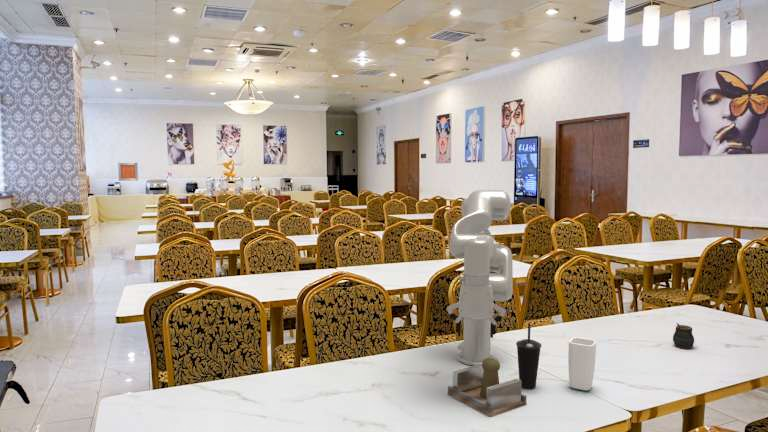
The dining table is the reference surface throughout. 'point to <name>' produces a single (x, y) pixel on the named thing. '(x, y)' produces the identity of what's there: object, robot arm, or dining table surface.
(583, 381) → the cup
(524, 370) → the drinking cup
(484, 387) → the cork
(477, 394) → the base
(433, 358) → the dining table surface
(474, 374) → the sliding jaw
